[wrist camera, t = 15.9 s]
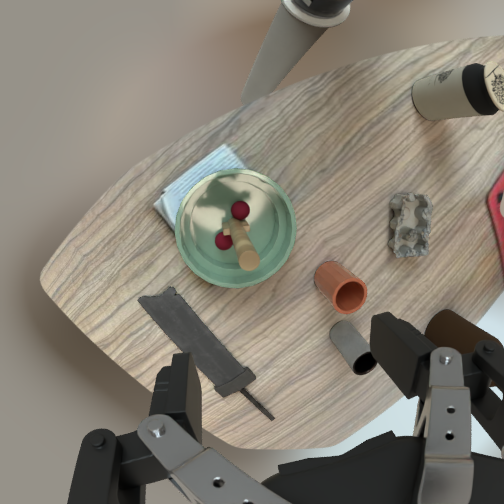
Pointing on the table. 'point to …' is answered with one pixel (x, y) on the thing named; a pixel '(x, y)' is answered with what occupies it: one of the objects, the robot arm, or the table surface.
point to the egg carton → (410, 224)
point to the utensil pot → (340, 287)
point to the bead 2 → (240, 210)
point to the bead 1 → (223, 241)
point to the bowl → (218, 211)
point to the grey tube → (353, 347)
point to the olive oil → (456, 333)
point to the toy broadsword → (200, 344)
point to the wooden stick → (242, 243)
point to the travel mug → (461, 92)
